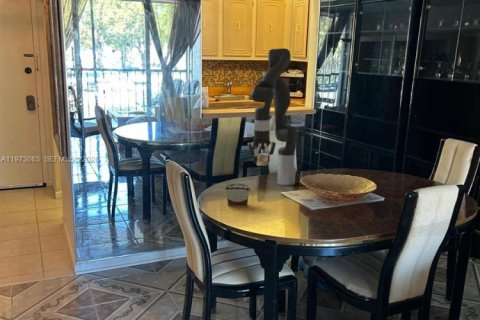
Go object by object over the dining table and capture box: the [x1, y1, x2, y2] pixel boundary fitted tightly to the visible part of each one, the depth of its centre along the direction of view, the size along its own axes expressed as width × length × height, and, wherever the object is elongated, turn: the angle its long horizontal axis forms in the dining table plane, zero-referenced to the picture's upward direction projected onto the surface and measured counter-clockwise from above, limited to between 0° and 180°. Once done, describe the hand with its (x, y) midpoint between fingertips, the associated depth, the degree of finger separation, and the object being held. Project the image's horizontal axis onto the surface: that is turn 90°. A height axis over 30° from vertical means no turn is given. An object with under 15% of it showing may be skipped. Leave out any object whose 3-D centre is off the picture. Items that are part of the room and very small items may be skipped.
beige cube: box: [256, 152, 269, 167], centre depth 219 cm, size 5×5×5 cm
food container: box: [224, 182, 251, 208], centre depth 217 cm, size 12×6×10 cm, turn 84°
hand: (261, 162), depth 219 cm, fingers closed on beige cube, 5 cm apart
